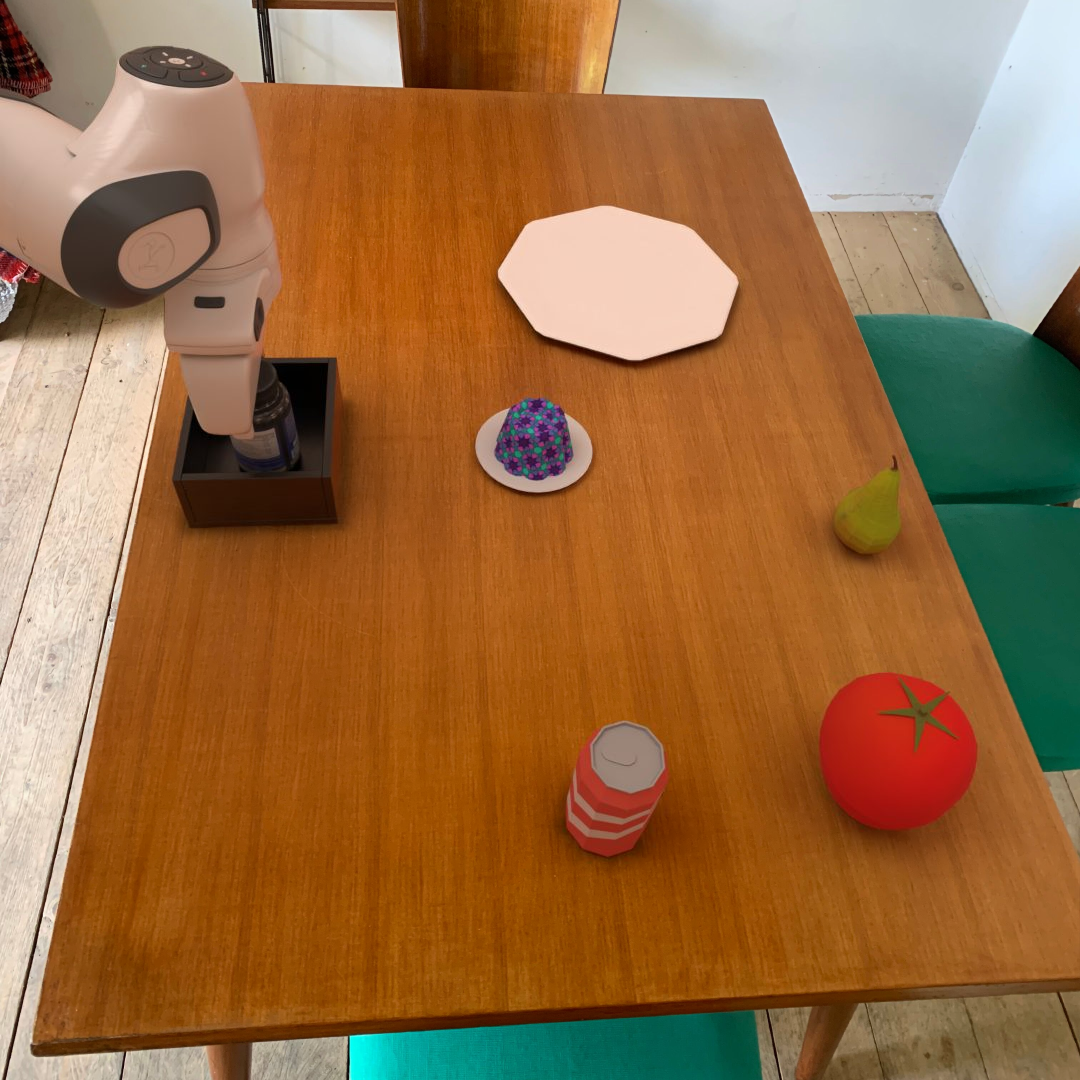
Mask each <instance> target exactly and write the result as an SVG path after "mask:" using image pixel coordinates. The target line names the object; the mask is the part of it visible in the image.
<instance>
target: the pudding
mask: <svg viewBox="0 0 1080 1080" xmlns="http://www.w3.org/2000/svg"><path fill="white" fill-rule="evenodd" d="M474 444H475V446H474V448H475V455H476V457H477V460H478V462H479V464H480V465H481V467H482V468H483V470H484V471H485V472H486V473H487V474H488V475H489V476H490V477H491V478H492V479H494V480H496V481H497V482H498V483H500V484H502V485H504V486H506V487H509V488H511V489H515V490H517V491H522V492H528V493H547V492H548V493H549V492H553V491H557V490H558V491H559V490H562V489H563V488H566V487H568V486H570V485H571V484H574V483H576V482H577V481H578V480H579V479H580V478H582V477H583V475H584V474H586V472H587V471H588V469H589V467H590V465H591V463H592V459H593V445H592V441H591V438H590V436H589V434H588V432H587V431H586V429H585V428H584V427H583V426H582V425H581V423H579V422H578V421H577V419H575V418H573V417H571V416H570V415H569V414H567V413H565V412H564V410H563V408H562V407H561V406H560V405H558V404H556V403H552V402H551V400H550V399H548V398H544V397H543V398H542V397H539V398H536V399H535V398H532V397H526V398H523V399H521V400H520V402H519V403H515V404H514V405H512V406H511V407H508V408H506V409H503V410H501V411H499V412H497V413H495V414H493V415H492V416H491V417H489V418H488V419H486V421H485V422H484V423H483V424H482V425H481V427H480V429H479V430H478V432H477V435H476V438H475V443H474Z"/></svg>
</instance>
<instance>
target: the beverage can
mask: <svg viewBox="0 0 1080 1080" xmlns="http://www.w3.org/2000/svg"><path fill="white" fill-rule="evenodd" d="M669 780H670V777H669V768H668V760H667V751H665V750H664V745H663V743H661V741H660V740H659V739H658V738H657V737H656V736H655V734H654V733H653V732H652V731H651V730H650V728H649V727H647V726H644V725H641V724H638V723H634V722H631V721H627V720H626V719H625V720H621V721H618V722H615V723H614V722H613V723H611V724H608V725H603V726H602V728H599V729H595V730H594V731H593V732H592V733H591V735H590V737H588V739H587V741H586V742H585V743H584V745H583V746H582V748H580V750H579V753H578V756H577V760H576V764H575V767H574V770H573V775H572V779H571V781H570V785H569V789H568V793H567V797H566V800H565V820H566V822H565V823H566V829H567V830H568V831H569V833H570V834H571V836H572V837H573V838H574V839H575V841H576V842H577V844H578V845H579V846H580V847H581V849H583V850H585V851H588V852H591V853H594V854H598V855H600V856H604V857H607V858H610V857H612V856H615V855H618V854H621V853H624V852H627V851H630V850H632V849H634V846H635V845H636V843H637V842H638V840H639V839H640V837H641V835H642V834H643V832H644V830H645V829H646V827H647V825H648V823H649V821H650V820H651V817H652V815H653V813H654V811H655V809H656V807H657V805H658V803H659V801H660V799H661V796H662V794H663V792H664V790H665V788H666V786H667V784H668V782H669Z"/></svg>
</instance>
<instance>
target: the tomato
mask: <svg viewBox="0 0 1080 1080" xmlns="http://www.w3.org/2000/svg"><path fill="white" fill-rule="evenodd" d="M949 693H950V691H947V692H946V691H945V690H944V689H943V688H941V687H940V686H938V685H936V684H934V683H933V682H930V681H928V680H925V679H922V678H919V677H915V676H911V675H906V674H903V673H897V672H889V671H888V672H887V671H886V672H875V673H870V674H865V675H861V676H857V677H856V678H854V679H853V680H852V681H850V682H849V683H848V684H846V685H845V686H843V687H841V688H839V690H838V691H837V692H836V693H835V695H834V696H833V698H832V699H831V701H830V702H829V704H828V706H827V708H826V709H825V712H824V714H823V718H822V721H821V724H820V725H821V726H820V730H819V740H818V748H819V749H818V750H819V760H820V761H819V762H820V769H821V773H822V776H823V779H824V782H825V785H826V788H827V789H828V791H829V793H830V795H831V797H832V798H833V800H834V801H835V802H836V803H837V805H838V806H839V807H840V808H841V810H843V811H844V812H845V813H846V814H847V815H848V816H849V817H851V818H853V819H854V820H855V821H857V822H858V823H860V824H862V825H865V826H868V827H870V828H873V829H878V830H882V831H883V830H884V831H885V830H886V831H905V830H906V831H907V830H910V829H911V830H912V829H915V828H920V827H924V826H926V825H929V824H931V823H933V822H936V821H937V820H938V819H939V818H941V817H942V816H944V815H945V814H947V812H948V811H950V810H951V809H952V808H953V807H955V805H956V804H957V803H958V802H959V801H960V800H961V799H962V798H963V797H964V795H965V794H966V792H967V791H968V790H969V788H970V786H971V783H972V782H973V778H974V775H975V771H976V768H977V763H978V742H977V739H976V736H975V732H974V729H973V726H972V725H971V722H970V720H969V719H968V717H967V715H966V714H965V712H964V711H963V709H962V708H961V706H960V705H959V704H958V702H956V700H955V699H954V698H953V697H952V696H951V695H950V694H949Z"/></svg>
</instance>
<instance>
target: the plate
mask: <svg viewBox="0 0 1080 1080" xmlns="http://www.w3.org/2000/svg"><path fill="white" fill-rule="evenodd" d="M497 279H498V281H499V282H500V284H501V285H502V286H503V288H504V289H505V291H506V292H507V294H508V295H509V297H510V298H511V299H512V301H513V302H514V303H515V305H516V306H517V308H518V309H519V311H520V312H521V314H522V315H523V316H524V317H525V319H526V320H527V322H528V323H529V325H530V326H531V327H532V329H533V330H534V332H535V333H537V334H538V335H540V336H542V337H543V338H546V339H550V340H553V341H557V342H560V343H564V344H567V345H571V346H573V347H578V348H581V349H583V350H588V351H592V352H595V353H598V354H602V355H604V356H605V355H606V356H609V357H612V358H616V359H619V360H623V361H626V362H644V361H648V360H651V359H653V358H657V357H660V356H664V355H667V354H671V353H674V352H675V353H676V352H678V351H682V350H685V349H689V348H693V347H695V346H699V345H702V344H706V343H709V342H712V341H715V340H717V339H718V338H719V337H721V336H722V335H723V332H724V329H725V325H726V323H727V319H728V317H729V313H730V311H731V307H732V305H733V303H734V302H733V301H734V298H735V296H736V293H737V290H738V287H739V284H740V282H739V279H738V276H737V275H736V274H735V273H734V272H733V271H732V270H731V269H730V268H729V266H728V265H726V263H725V262H724V261H723V260H722V259H721V258H720V257H719V255H717V253H716V252H715V251H714V250H713V249H712V248H711V247H710V246H709V245H708V244H707V243H706V241H704V239H702V237H701V236H700V235H699V234H698V233H697V232H696V231H695V229H692V228H690V227H689V226H687V225H686V224H681V223H677V222H675V221H671V220H667V219H662V218H659V217H655V216H652V215H651V216H650V215H648V214H644V213H640V212H636V211H631V210H628V209H625V208H622V207H621V208H620V207H617V206H613V205H599V206H594V207H593V206H592V207H589V208H585V209H580V210H576V211H571V212H566V213H562V214H558V215H553V216H549V217H545V218H540V219H535V220H532V221H530V222H529V223H527V224H526V225H524V226H523V229H522V230H521V232H520V233H519V235H518V237H517V238H516V240H515V242H514V243H513V245H512V246H511V248H510V250H509V251H508V253H507V255H506V257H505V258H504V260H503V262H502V263H501V264H500V266H499V268H498V269H497Z"/></svg>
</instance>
